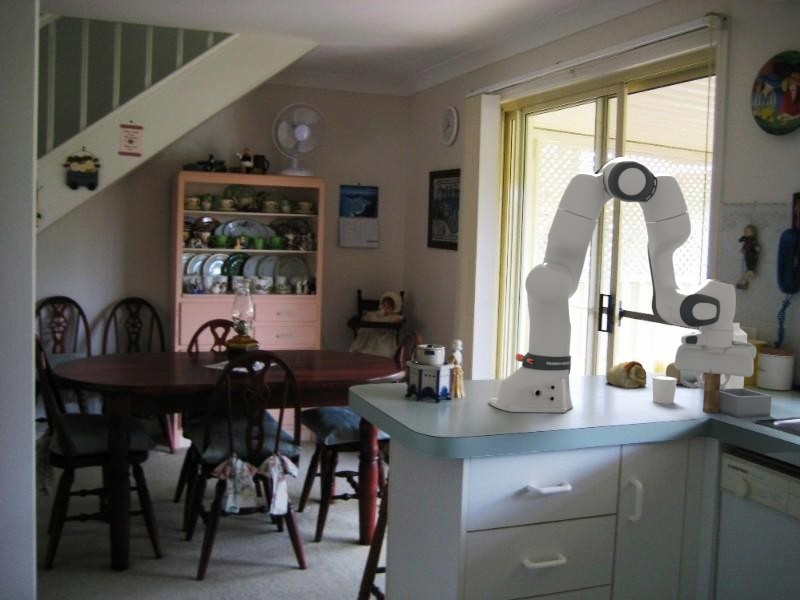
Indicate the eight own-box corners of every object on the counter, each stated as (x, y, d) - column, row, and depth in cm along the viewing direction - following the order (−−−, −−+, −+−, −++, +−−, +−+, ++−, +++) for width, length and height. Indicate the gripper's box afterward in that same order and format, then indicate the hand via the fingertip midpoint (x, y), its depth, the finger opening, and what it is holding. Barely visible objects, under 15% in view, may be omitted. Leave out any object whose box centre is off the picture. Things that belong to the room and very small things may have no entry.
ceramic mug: (663, 382, 277) (664, 358, 276) (683, 381, 280) (685, 358, 279) (685, 389, 267) (687, 364, 267) (705, 388, 270) (707, 364, 270)
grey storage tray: (737, 417, 227) (738, 397, 226) (709, 408, 237) (710, 389, 236) (770, 415, 230) (771, 395, 230) (741, 407, 241) (742, 388, 240)
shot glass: (677, 404, 240) (678, 380, 240) (651, 403, 242) (653, 378, 241) (674, 400, 247) (676, 376, 246) (649, 398, 248) (651, 374, 248)
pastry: (642, 390, 261) (644, 364, 261) (601, 385, 266) (603, 360, 266) (649, 383, 274) (651, 359, 273) (610, 379, 279) (611, 355, 279)
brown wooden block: (707, 412, 231) (710, 368, 230) (702, 410, 233) (705, 367, 232) (718, 412, 233) (721, 368, 231) (713, 410, 234) (716, 367, 233)
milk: (713, 394, 260) (718, 322, 258) (725, 392, 263) (730, 321, 262) (731, 397, 255) (736, 324, 253) (743, 395, 258) (748, 323, 257)
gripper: (757, 341, 230) (753, 392, 231) (678, 334, 238) (675, 383, 239) (756, 344, 224) (752, 396, 225) (675, 336, 233) (672, 386, 234)
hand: (711, 389), depth 232 cm, fingers closed on brown wooden block, 4 cm apart
